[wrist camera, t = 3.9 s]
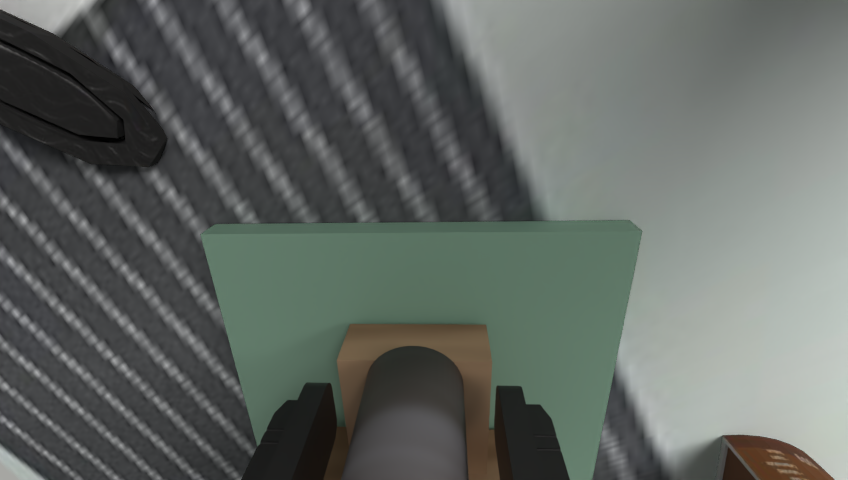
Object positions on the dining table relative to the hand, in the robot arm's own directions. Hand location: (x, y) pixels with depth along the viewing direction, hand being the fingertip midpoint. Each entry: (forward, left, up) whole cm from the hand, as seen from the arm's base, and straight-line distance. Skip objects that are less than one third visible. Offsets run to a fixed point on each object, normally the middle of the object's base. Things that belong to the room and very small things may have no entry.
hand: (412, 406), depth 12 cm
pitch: (+9, 0, -4) cm, 10 cm away
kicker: (+2, 0, -3) cm, 4 cm away
